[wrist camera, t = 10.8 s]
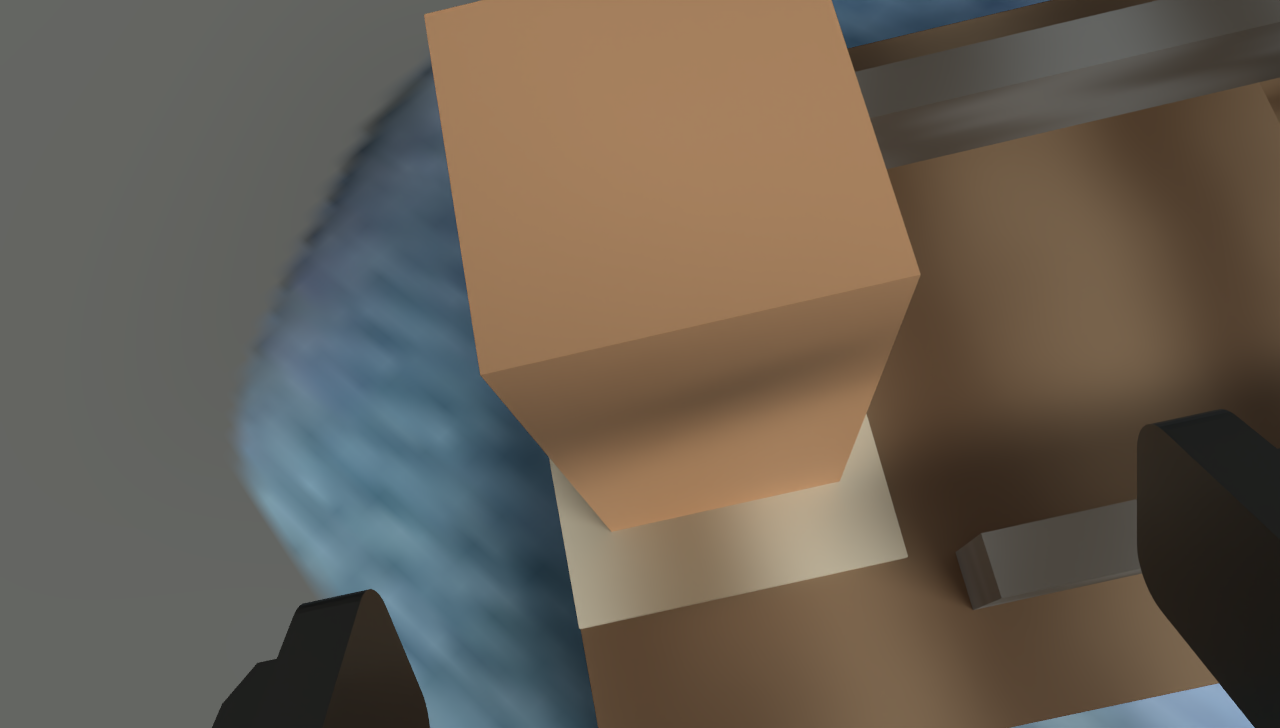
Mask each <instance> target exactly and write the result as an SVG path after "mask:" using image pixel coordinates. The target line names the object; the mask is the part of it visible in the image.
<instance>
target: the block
mask: <svg viewBox="0 0 1280 728" xmlns="http://www.w3.org/2000/svg"><path fill="white" fill-rule="evenodd" d="M424 17H425V24H426V31H427V37H428V43H429V50H430V56H431V63H432V69H433V75H434V82H435V88H436V95H437V101H438V107H439V114H440V120H441V127H442V133H443V139H444V146H445V152H446V159H447V165H448V171H449V178H450V184H451V191H452V197H453V203H454V210H455V216H456V223H457V229H458V235H459V242H460V248H461V255H462V261H463V267H464V274H465V280H466V287H467V293H468V300H469V306H470V312H471V319H472V325H473V332H474V338H475V344H476V351H477V357H478V364H479V370H480V375H481V377H482V378H483V379H484V380H485V381H486V383H487V384H488V385H489V386H490V387H491V388H492V390H493V391H494V392H495V393H496V394H497V396H498V397H499V398H500V399H501V400H502V402H503V403H504V404H505V405H506V406H507V408H508V409H509V410H510V411H511V412H512V414H513V415H514V416H515V417H516V418H517V420H518V421H519V422H520V423H521V424H522V426H523V427H524V428H525V429H526V430H527V432H528V433H529V434H530V435H531V436H532V437H533V439H534V440H535V441H536V442H537V443H538V445H539V446H540V447H541V448H542V449H543V451H544V452H545V453H546V454H547V455H548V457H549V458H550V459H551V460H552V461H553V463H554V464H555V465H556V466H557V467H558V469H559V470H560V471H561V472H562V473H563V475H564V476H565V477H566V478H567V479H568V481H569V482H570V483H571V484H572V485H573V486H574V488H575V489H576V490H577V491H578V492H579V494H580V495H581V496H582V497H583V498H584V500H585V501H586V502H587V503H588V504H589V506H590V507H591V508H592V509H593V510H594V512H595V513H596V514H597V515H598V516H599V518H600V519H601V520H602V521H603V522H604V524H605V525H606V526H607V527H608V528H609V529H610V531H611V532H613V531H618V530H622V529H627V528H631V527H636V526H640V525H645V524H649V523H654V522H658V521H663V520H667V519H672V518H676V517H681V516H685V515H690V514H695V513H699V512H704V511H708V510H713V509H717V508H722V507H726V506H731V505H735V504H740V503H744V502H749V501H753V500H758V499H762V498H767V497H771V496H776V495H780V494H785V493H789V492H794V491H798V490H803V489H807V488H812V487H816V486H821V485H825V484H830V483H834V482H839V481H840V479H841V477H842V474H843V472H844V469H845V467H846V464H847V461H848V459H849V456H850V454H851V451H852V449H853V446H854V444H855V441H856V438H857V436H858V433H859V431H860V428H861V426H862V423H863V421H864V418H865V416H866V413H867V410H868V408H869V405H870V403H871V400H872V398H873V395H874V393H875V390H876V387H877V385H878V382H879V380H880V377H881V375H882V372H883V370H884V367H885V364H886V362H887V359H888V357H889V354H890V352H891V349H892V347H893V344H894V342H895V339H896V336H897V334H898V331H899V329H900V326H901V324H902V321H903V319H904V316H905V313H906V311H907V308H908V306H909V303H910V301H911V298H912V296H913V293H914V291H915V288H916V285H917V283H918V280H919V278H920V275H921V274H920V271H919V268H918V265H917V261H916V258H915V255H914V252H913V249H912V246H911V243H910V240H909V237H908V234H907V231H906V228H905V225H904V222H903V218H902V215H901V212H900V209H899V206H898V203H897V200H896V197H895V194H894V191H893V188H892V185H891V182H890V179H889V175H888V172H887V169H886V166H885V163H884V160H883V157H882V154H881V151H880V148H879V145H878V142H877V139H876V136H875V132H874V129H873V126H872V123H871V120H870V117H869V114H868V111H867V108H866V105H865V102H864V99H863V96H862V93H861V89H860V86H859V83H858V80H857V77H856V74H855V71H854V68H853V65H852V62H851V59H850V56H849V53H848V50H847V46H846V43H845V40H844V37H843V34H842V31H841V28H840V25H839V22H838V19H837V16H836V13H835V10H834V7H833V3H832V0H481V1H477V2H473V3H469V4H465V5H461V6H456V7H452V8H448V9H444V10H440V11H436V12H432V13H428V14H424Z"/></svg>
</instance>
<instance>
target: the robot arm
mask: <svg viewBox="0 0 1280 728" xmlns="http://www.w3.org/2000/svg"><path fill="white" fill-rule="evenodd" d="M1137 553H1138V559H1139V564H1140V568H1141V571H1142V575H1143V578H1144V580H1145V583H1146V585H1147V588H1148V590H1149V592H1150V594H1151V596H1152V598H1153V600H1154V601H1155V603H1156V604H1157V606H1158V607H1159V609H1160V610H1161V611H1162V613H1163V614H1164V615H1165V616H1166V618H1167V619H1168V620H1169V621H1170V623H1171V624H1172V625H1173V626H1174V628H1175V629H1176V630H1177V631H1178V633H1179V634H1180V635H1181V636H1182V638H1183V639H1184V640H1185V641H1186V643H1187V644H1188V645H1189V646H1190V648H1191V649H1192V650H1193V651H1194V653H1195V654H1196V655H1197V656H1198V658H1199V659H1200V660H1201V661H1202V662H1203V664H1204V665H1205V666H1206V667H1207V669H1208V670H1209V671H1210V672H1211V674H1212V675H1213V676H1214V677H1215V679H1216V680H1217V681H1218V682H1219V684H1220V685H1221V686H1222V687H1223V689H1224V690H1225V691H1226V692H1227V694H1228V695H1229V696H1230V697H1231V699H1232V700H1233V701H1234V702H1235V704H1236V705H1237V706H1238V707H1239V709H1240V710H1241V711H1242V712H1243V714H1244V715H1245V716H1246V717H1247V719H1248V720H1249V721H1250V722H1251V724H1252V725H1253V726H1254V727H1255V728H1280V448H1278V449H1277V448H1276V447H1274V446H1273V445H1272V444H1271V443H1270V442H1268V441H1267V440H1266V439H1265V438H1263V437H1262V436H1261V435H1260V434H1258V433H1257V432H1256V431H1255V430H1253V429H1252V428H1251V427H1250V426H1249V425H1247V424H1246V423H1245V422H1244V421H1242V420H1241V419H1240V418H1239V417H1237V416H1236V415H1235V414H1233V413H1232V412H1230V411H1228V410H1225V409H1218V410H1213V411H1208V412H1204V413H1199V414H1194V415H1190V416H1185V417H1180V418H1176V419H1171V420H1166V421H1162V422H1157V423H1152V424H1148V425H1145V426H1144V427H1143V428H1142V429H1141V431H1140V433H1139V436H1138V441H1137ZM212 728H430V725H429V718H428V712H427V708H426V704H425V700H424V697H423V694H422V691H421V689H420V687H419V684H418V682H417V680H416V677H415V675H414V672H413V670H412V668H411V665H410V663H409V660H408V658H407V656H406V653H405V651H404V649H403V646H402V644H401V641H400V639H399V637H398V634H397V632H396V629H395V627H394V625H393V622H392V620H391V618H390V615H389V613H388V610H387V608H386V606H385V604H384V602H383V600H382V598H381V597H380V595H379V594H378V593H377V592H376V591H375V590H372V589H369V590H364V591H360V592H355V593H350V594H346V595H341V596H337V597H332V598H327V599H323V600H318V601H313V602H309V603H304V604H302V605H300V606H299V607H298V609H297V610H296V612H295V614H294V616H293V619H292V621H291V624H290V626H289V629H288V631H287V634H286V637H285V639H284V642H283V645H282V647H281V650H280V652H279V655H278V657H277V659H274V660H269V661H265V662H260V663H257V664H256V665H255V667H254V668H253V669H252V670H251V671H250V672H249V674H248V675H247V676H246V677H245V678H244V680H243V681H242V682H241V683H240V684H239V685H238V686H237V688H236V689H235V690H234V691H233V692H232V694H230V696H229V697H228V698H227V699H226V700H225V701H224V703H223V704H222V706H221V708H220V710H219V713H218V715H217V717H216V720H215V722H214V724H213V727H212Z"/></svg>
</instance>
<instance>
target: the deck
mask: <svg viewBox="0 0 1280 728" xmlns="http://www.w3.org/2000/svg"><path fill="white" fill-rule="evenodd" d="M847 50H848V53H849V56H850V59H851V62H852V65H853V68H854V71H855V74H856V77H857V80H858V83H859V86H860V89H861V93H862V96H863V99H864V102H865V105H866V108H867V111H868V114H869V117H870V120H871V123H872V126H873V129H874V132H875V136H876V139H877V142H878V145H879V148H880V151H881V154H882V157H883V160H884V163H885V166H886V169H887V172H888V175H889V179H890V182H891V185H892V188H893V191H894V194H895V197H896V200H897V203H898V206H899V209H900V212H901V215H902V218H903V222H904V225H905V228H906V231H907V234H908V237H909V240H910V243H911V246H912V249H913V252H914V255H915V258H916V261H917V265H918V268H919V271H920V274H921V275H920V278H919V280H918V283H917V285H916V288H915V291H914V293H913V296H912V298H911V301H910V303H909V306H908V308H907V311H906V313H905V316H904V319H903V321H902V324H901V326H900V329H899V331H898V334H897V336H896V339H895V342H894V344H893V347H892V349H891V352H890V354H889V357H888V359H887V362H886V364H885V367H884V370H883V372H882V375H881V377H880V380H879V382H878V385H877V387H876V390H875V393H874V395H873V398H872V400H871V403H870V405H869V408H868V410H867V413H866V416H865V418H864V421H863V423H862V426H861V428H860V431H859V433H858V436H857V438H856V441H855V444H854V446H853V449H852V451H851V454H850V456H849V459H848V461H847V464H846V467H845V469H844V472H843V474H842V477H841V479H840V481H839V482H834V483H830V484H825V485H821V486H816V487H812V488H807V489H803V490H798V491H794V492H789V493H785V494H780V495H776V496H771V497H767V498H762V499H758V500H753V501H749V502H744V503H740V504H735V505H731V506H726V507H722V508H717V509H713V510H708V511H704V512H699V513H695V514H690V515H685V516H681V517H676V518H672V519H667V520H663V521H658V522H654V523H649V524H645V525H640V526H636V527H631V528H627V529H622V530H618V531H613V532H611V531H610V529H609V528H608V527H607V526H606V525H605V524H604V522H603V521H602V520H601V519H600V518H599V516H598V515H597V514H596V513H595V512H594V510H593V509H592V508H591V507H590V506H589V504H588V503H587V502H586V501H585V500H584V498H583V497H582V496H581V495H580V494H579V492H578V491H577V490H576V489H575V488H574V486H573V485H572V484H571V483H570V482H569V481H568V479H567V478H566V477H565V476H564V475H563V473H562V472H561V471H560V470H559V469H558V467H557V466H556V465H555V464H554V463H553V461H552V460H551V459H550V458H549V460H550V466H551V472H552V477H553V483H554V489H555V494H556V500H557V506H558V511H559V517H560V523H561V528H562V534H563V540H564V545H565V551H566V557H567V562H568V568H569V574H570V579H571V585H572V591H573V596H574V602H575V608H576V613H577V619H578V625H579V629H581V634H582V639H583V645H584V651H585V656H586V662H587V668H588V673H589V679H590V685H591V690H592V696H593V701H594V707H595V713H596V718H597V724H598V728H1010V727H1015V726H1019V725H1024V724H1029V723H1033V722H1038V721H1043V720H1048V719H1052V718H1057V717H1062V716H1066V715H1071V714H1076V713H1081V712H1085V711H1090V710H1095V709H1099V708H1104V707H1109V706H1114V705H1118V704H1123V703H1128V702H1132V701H1137V700H1142V699H1147V698H1151V697H1156V696H1161V695H1165V694H1170V693H1175V692H1180V691H1184V690H1189V689H1194V688H1198V687H1203V686H1208V685H1213V684H1217V683H1219V682H1218V681H1217V680H1216V679H1215V677H1214V676H1213V675H1212V674H1211V672H1210V671H1209V670H1208V669H1207V667H1206V666H1205V665H1204V664H1203V662H1202V661H1201V660H1200V659H1199V658H1198V656H1197V655H1196V654H1195V653H1194V651H1193V650H1192V649H1191V648H1190V646H1189V645H1188V644H1187V643H1186V641H1185V640H1184V639H1183V638H1182V636H1181V635H1180V634H1179V633H1178V631H1177V630H1176V629H1175V628H1174V626H1173V625H1172V624H1171V623H1170V621H1169V620H1168V619H1167V618H1166V616H1165V615H1164V614H1163V613H1162V611H1161V610H1160V609H1159V607H1158V606H1157V604H1156V603H1155V601H1154V600H1153V598H1152V596H1151V594H1150V592H1149V590H1148V588H1147V585H1146V583H1145V580H1144V578H1143V575H1142V571H1141V568H1140V564H1139V559H1138V553H1137V441H1138V436H1139V433H1140V431H1141V429H1142V428H1143V427H1144V426H1145V425H1148V424H1152V423H1157V422H1162V421H1166V420H1171V419H1176V418H1180V417H1185V416H1190V415H1194V414H1199V413H1204V412H1208V411H1213V410H1218V409H1225V410H1228V411H1230V412H1232V413H1233V414H1235V415H1236V416H1237V417H1239V418H1240V419H1241V420H1242V421H1244V422H1245V423H1246V424H1247V425H1249V426H1250V427H1251V428H1252V429H1253V430H1255V431H1256V432H1257V433H1258V434H1260V435H1261V436H1262V437H1263V438H1265V439H1266V440H1267V441H1268V442H1270V443H1271V444H1272V445H1273V446H1274V447H1276V448H1277V449H1278V448H1280V0H1050V1H1046V2H1042V3H1038V4H1033V5H1029V6H1025V7H1021V8H1017V9H1012V10H1008V11H1004V12H1000V13H996V14H991V15H987V16H983V17H979V18H974V19H970V20H966V21H962V22H958V23H953V24H949V25H945V26H941V27H937V28H932V29H928V30H924V31H920V32H916V33H911V34H907V35H903V36H899V37H895V38H890V39H886V40H882V41H878V42H874V43H869V44H865V45H861V46H857V47H853V48H848V49H847Z"/></svg>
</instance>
